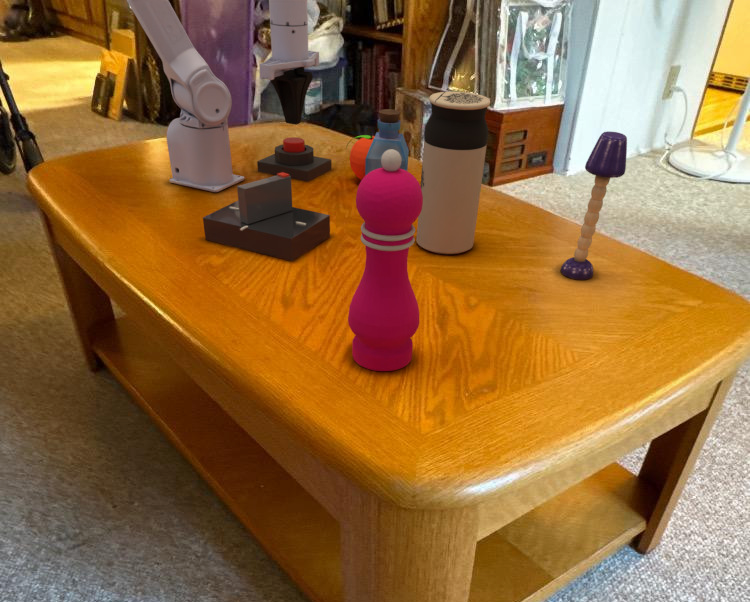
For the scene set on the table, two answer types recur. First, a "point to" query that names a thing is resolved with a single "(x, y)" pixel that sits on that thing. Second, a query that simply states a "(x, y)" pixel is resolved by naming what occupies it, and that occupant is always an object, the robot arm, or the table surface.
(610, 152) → the toy lamp
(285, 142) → the button
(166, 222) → the table surface
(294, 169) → the control block
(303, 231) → the base
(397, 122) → the perfume bottle
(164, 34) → the robot arm
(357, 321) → the pepper mill
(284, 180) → the upright grey panel
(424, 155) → the travel mug
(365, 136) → the clementine
